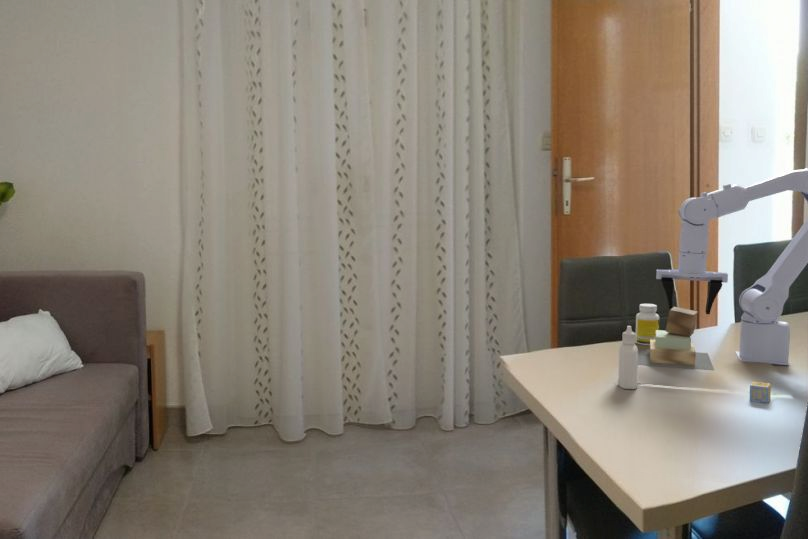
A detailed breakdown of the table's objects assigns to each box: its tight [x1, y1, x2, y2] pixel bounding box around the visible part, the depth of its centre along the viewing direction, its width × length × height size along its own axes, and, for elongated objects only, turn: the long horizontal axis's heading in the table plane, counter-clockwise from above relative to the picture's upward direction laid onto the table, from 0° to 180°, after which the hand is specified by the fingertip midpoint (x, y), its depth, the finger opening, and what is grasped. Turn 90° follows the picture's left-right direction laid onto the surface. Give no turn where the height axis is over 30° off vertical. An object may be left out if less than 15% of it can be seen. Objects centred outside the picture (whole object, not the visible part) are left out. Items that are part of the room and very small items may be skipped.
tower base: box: [649, 339, 697, 365], centre depth 147 cm, size 9×9×3 cm
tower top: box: [655, 329, 692, 350], centre depth 146 cm, size 7×7×2 cm
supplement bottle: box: [634, 303, 660, 346], centre depth 161 cm, size 5×5×10 cm
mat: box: [638, 348, 715, 371], centre depth 147 cm, size 16×14×1 cm
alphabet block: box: [749, 381, 772, 404], centre depth 121 cm, size 3×3×3 cm
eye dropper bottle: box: [617, 325, 639, 390], centre depth 129 cm, size 4×6×12 cm
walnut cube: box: [665, 306, 699, 337], centre depth 146 cm, size 5×5×5 cm
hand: (688, 312), depth 148 cm, fingers open, 7 cm apart
